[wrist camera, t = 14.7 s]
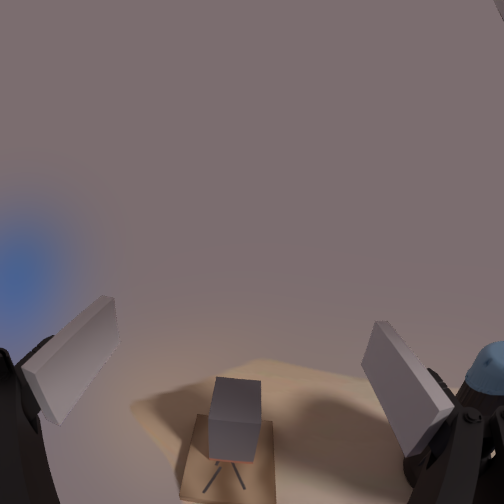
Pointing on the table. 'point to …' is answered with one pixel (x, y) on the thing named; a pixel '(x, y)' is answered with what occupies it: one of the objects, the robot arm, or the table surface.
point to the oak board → (229, 472)
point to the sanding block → (234, 420)
